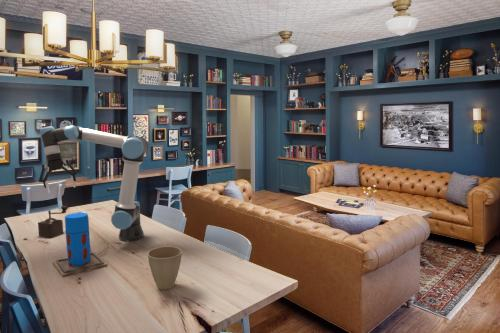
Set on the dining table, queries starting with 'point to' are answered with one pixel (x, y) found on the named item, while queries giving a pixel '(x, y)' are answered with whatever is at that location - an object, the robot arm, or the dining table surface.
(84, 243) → the thermos
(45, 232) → the manual coffee grinder
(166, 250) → the plant pot
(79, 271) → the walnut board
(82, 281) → the dining table surface
